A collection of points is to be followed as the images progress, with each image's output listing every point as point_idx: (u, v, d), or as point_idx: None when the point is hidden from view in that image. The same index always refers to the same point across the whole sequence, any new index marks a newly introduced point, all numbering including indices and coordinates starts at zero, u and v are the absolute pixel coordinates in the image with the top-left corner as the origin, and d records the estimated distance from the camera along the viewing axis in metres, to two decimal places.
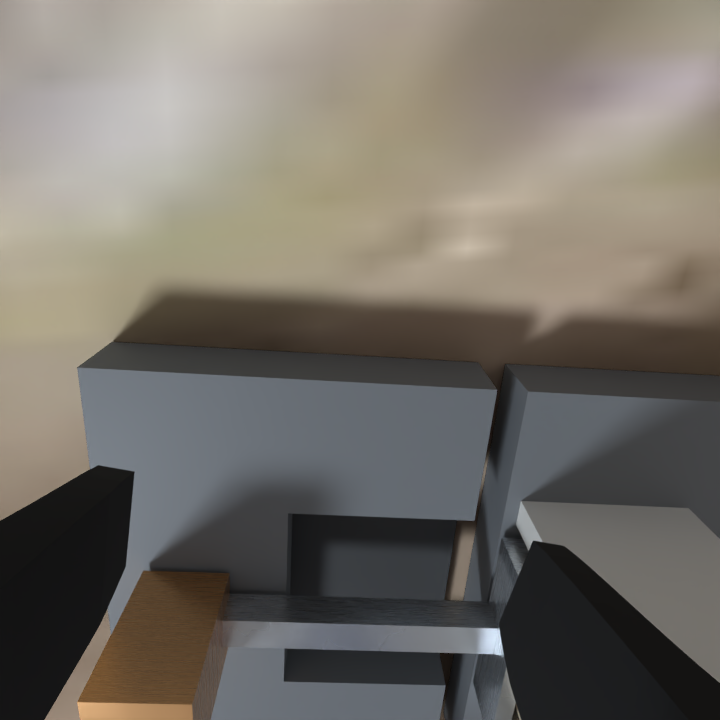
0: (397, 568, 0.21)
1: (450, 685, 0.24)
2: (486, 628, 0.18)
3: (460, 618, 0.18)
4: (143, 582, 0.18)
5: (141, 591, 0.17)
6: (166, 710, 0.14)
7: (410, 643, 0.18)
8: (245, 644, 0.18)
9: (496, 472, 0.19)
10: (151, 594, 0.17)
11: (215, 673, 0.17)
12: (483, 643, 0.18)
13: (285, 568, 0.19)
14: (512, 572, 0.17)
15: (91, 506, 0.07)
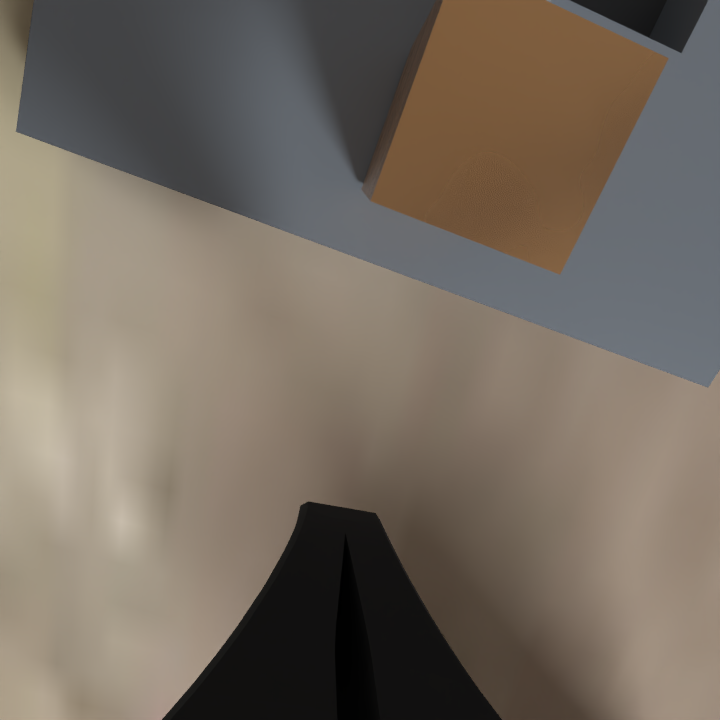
0: None
1: None
2: None
3: None
4: (364, 180, 0.11)
5: (366, 177, 0.11)
6: (452, 27, 0.07)
7: None
8: None
9: None
10: (373, 160, 0.11)
11: None
12: None
13: None
14: None
15: (342, 548, 0.07)
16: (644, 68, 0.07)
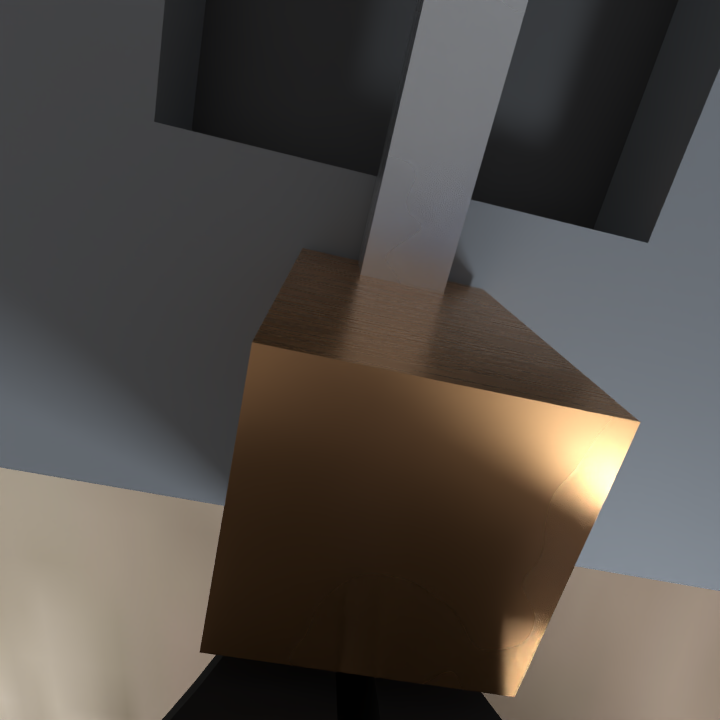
0: None
1: None
2: None
3: None
4: None
5: None
6: (268, 432, 0.04)
7: None
8: (448, 235, 0.07)
9: None
10: None
11: (446, 311, 0.06)
12: None
13: (311, 163, 0.08)
14: None
15: None
16: (600, 439, 0.04)
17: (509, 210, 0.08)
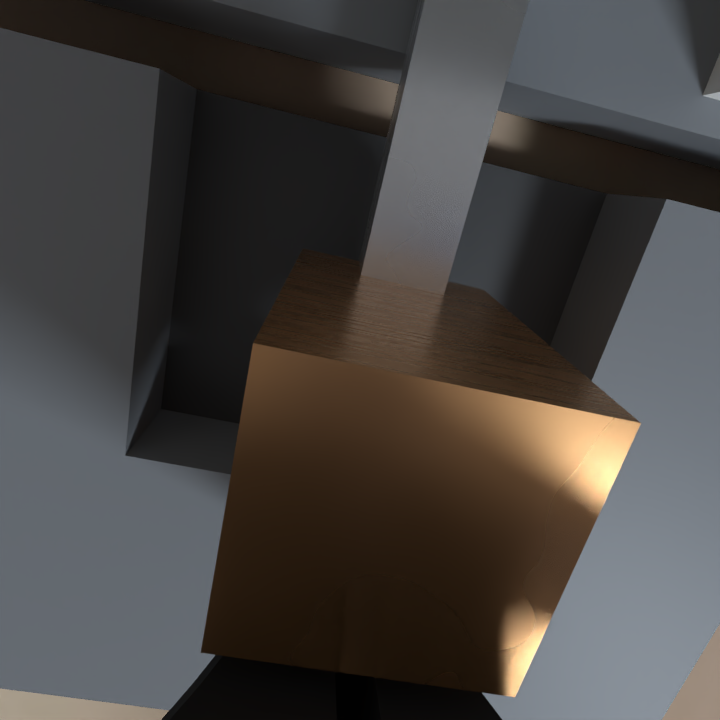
0: None
1: None
2: None
3: None
4: None
5: None
6: (270, 432, 0.04)
7: None
8: (449, 236, 0.07)
9: None
10: None
11: (447, 311, 0.06)
12: None
13: None
14: None
15: None
16: (601, 441, 0.04)
17: None
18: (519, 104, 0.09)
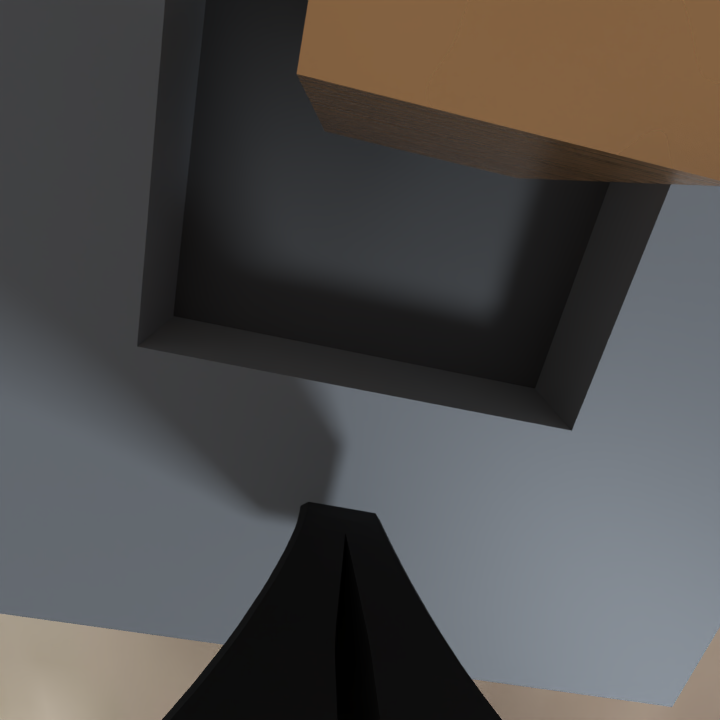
0: None
1: None
2: None
3: None
4: None
5: None
6: None
7: None
8: None
9: None
10: None
11: None
12: None
13: (274, 375, 0.09)
14: None
15: (342, 548, 0.07)
16: None
17: (448, 407, 0.10)
18: None
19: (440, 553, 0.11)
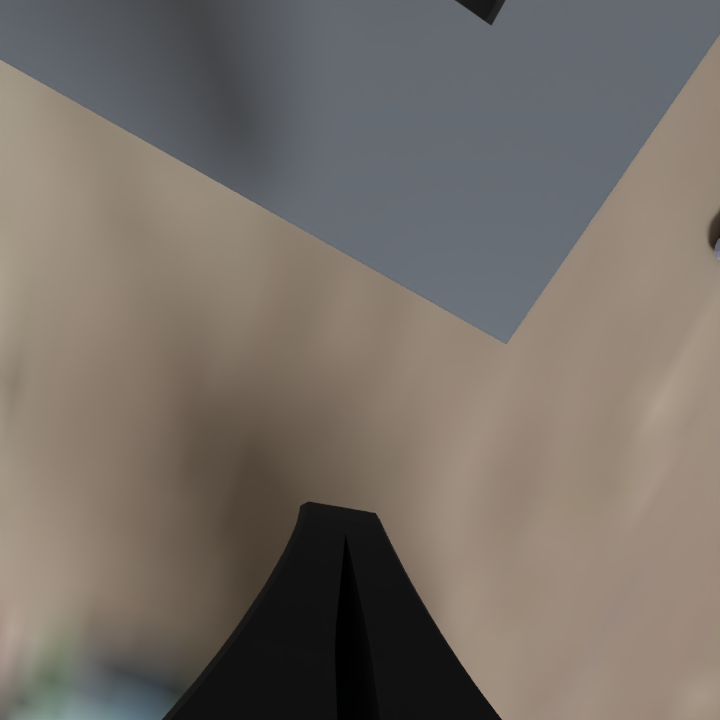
0: None
1: None
2: None
3: None
4: None
5: None
6: None
7: None
8: None
9: None
10: None
11: None
12: None
13: None
14: None
15: (341, 548, 0.07)
16: None
17: None
18: None
19: (365, 116, 0.13)
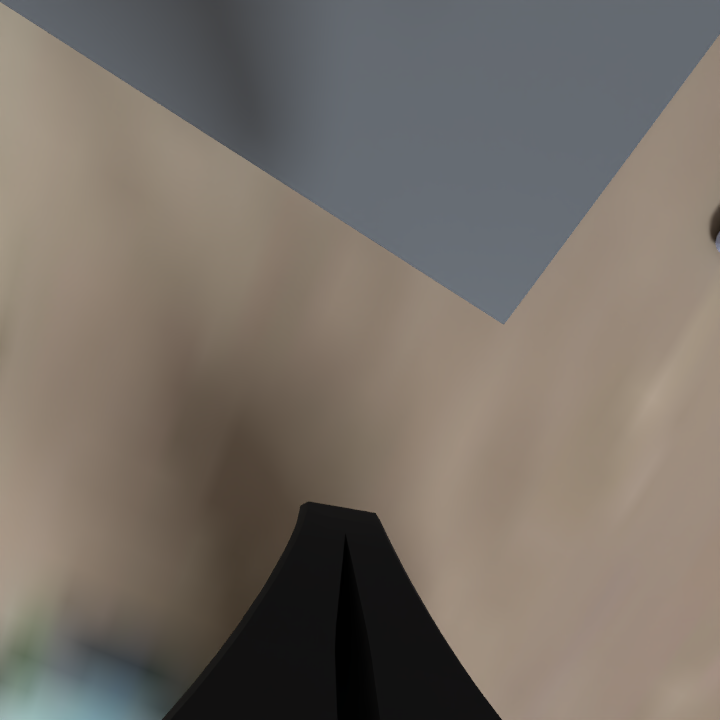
0: None
1: None
2: None
3: None
4: None
5: None
6: None
7: None
8: None
9: None
10: None
11: None
12: None
13: None
14: None
15: (342, 548, 0.07)
16: None
17: None
18: None
19: (372, 81, 0.13)
